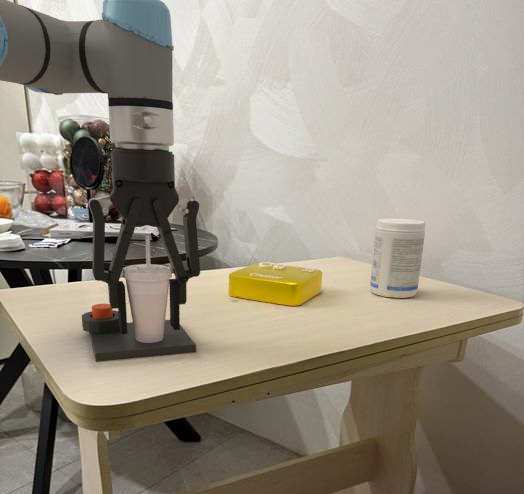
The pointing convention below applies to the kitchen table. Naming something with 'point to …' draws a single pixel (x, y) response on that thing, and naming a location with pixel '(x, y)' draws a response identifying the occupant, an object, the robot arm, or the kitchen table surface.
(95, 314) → the scale button
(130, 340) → the scale
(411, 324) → the kitchen table surface
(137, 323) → the smoothie
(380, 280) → the supplement tub
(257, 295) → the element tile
